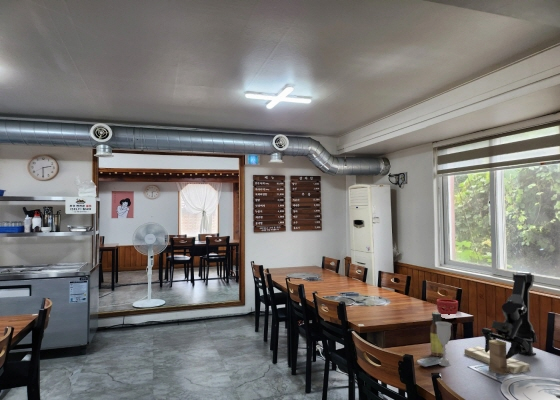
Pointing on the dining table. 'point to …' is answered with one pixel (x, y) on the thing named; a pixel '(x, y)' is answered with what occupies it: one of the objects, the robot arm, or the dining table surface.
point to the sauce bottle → (435, 336)
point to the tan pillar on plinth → (498, 357)
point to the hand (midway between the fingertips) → (495, 355)
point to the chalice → (444, 339)
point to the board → (484, 356)
